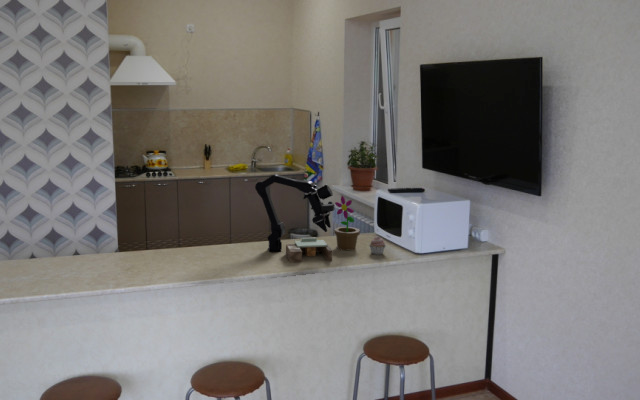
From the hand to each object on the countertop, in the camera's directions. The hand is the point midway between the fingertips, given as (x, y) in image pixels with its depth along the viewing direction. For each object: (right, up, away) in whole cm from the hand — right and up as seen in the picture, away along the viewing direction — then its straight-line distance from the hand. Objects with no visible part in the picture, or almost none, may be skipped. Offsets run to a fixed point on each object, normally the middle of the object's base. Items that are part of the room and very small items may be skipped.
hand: (328, 229), depth 312 cm
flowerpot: (+10, -11, +19) cm, 24 cm away
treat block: (-10, -14, +3) cm, 17 cm away
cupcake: (+27, -14, +9) cm, 32 cm away
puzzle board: (-11, -14, 0) cm, 18 cm away
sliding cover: (-9, -8, +2) cm, 12 cm away
